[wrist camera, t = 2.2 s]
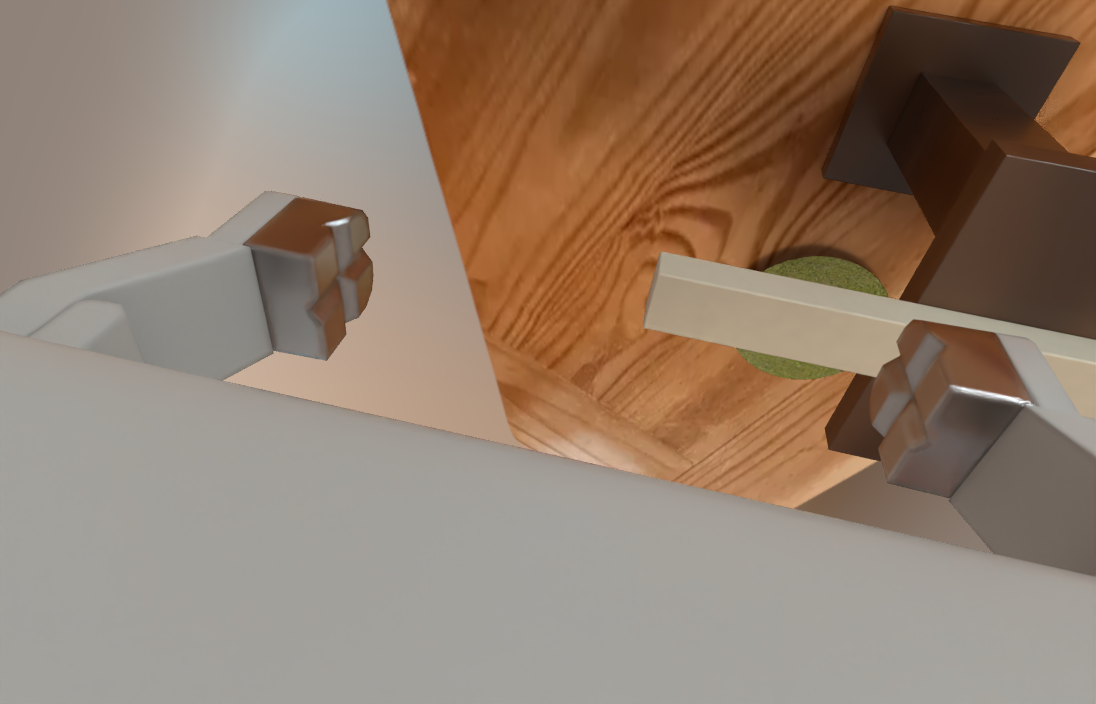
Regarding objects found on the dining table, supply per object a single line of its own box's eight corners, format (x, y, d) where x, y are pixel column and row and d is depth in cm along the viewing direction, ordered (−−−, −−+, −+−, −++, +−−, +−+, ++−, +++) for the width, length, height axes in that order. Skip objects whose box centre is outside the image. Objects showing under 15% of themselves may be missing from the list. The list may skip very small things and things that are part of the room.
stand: (777, 177, 44) (828, 450, 25) (852, -23, 36) (1006, 154, 17) (1005, 221, 43) (1236, 540, 24) (1131, 25, 35) (1619, 269, 16)
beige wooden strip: (1432, 353, 19) (1489, 396, 17) (1267, 477, 22) (1305, 521, 21) (672, 203, 20) (670, 230, 19) (635, 342, 24) (630, 374, 22)
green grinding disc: (737, 370, 55) (737, 386, 54) (719, 256, 49) (719, 270, 47) (884, 357, 51) (890, 373, 50) (886, 231, 45) (892, 245, 44)
